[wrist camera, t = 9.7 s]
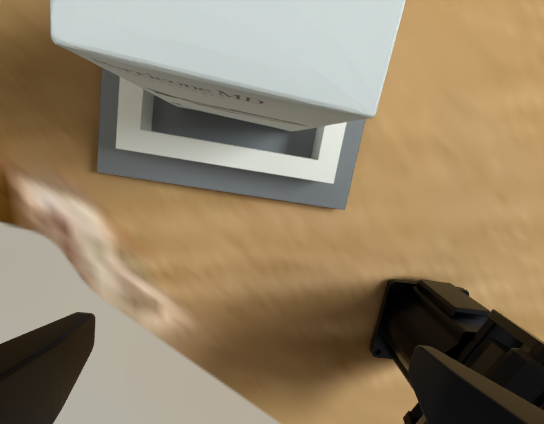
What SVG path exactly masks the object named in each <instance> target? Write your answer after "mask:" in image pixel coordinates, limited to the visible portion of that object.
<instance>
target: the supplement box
mask: <svg viewBox="0 0 544 424" xmlns="http://www.w3.org/2000/svg"><path fill="white" fill-rule="evenodd" d="M405 1H406V0H50V34H51V39H52V41H53V42H54V43H55V44H56V45H58V46H60V47H62V48H65V49H67V50H69V51H71V52H73V53H75V54H77V55H79V56H80V57H82V58H84V59H86V60H88V61H90V62H92V63H94V64H96V65H98V66H100V67H102V68H104V69H106V70H108V71H110V72H112V73H114V74H116V75H118V76H120V77H121V78H123V79H125V80H127V81H129V82H131V83H133V84H135V85H137V86H139V87H140V88H142V89H144V90H146V91H148V92H150V93H152V94H153V95H155V96H157V97H159V98H161V99H163V100H165V101H167V102H169V103H171V104H173V105H175V106H177V107H180V108H186V109H192V110H198V111H202V112H207V113H211V114H216V115H220V116H225V117H229V118H234V119H238V120H243V121H247V122H252V123H257V124H261V125H266V126H270V127H274V128H279V129H283V130H286V131H290V132H292V131H299V130H306V129H312V128H318V127H323V126H328V125H332V124H338V123H344V122H351V121H355V120H361V119H368V118H372V117H373V116H375V115H376V111H377V107H378V102H379V99H380V95H381V91H382V88H383V84H384V80H385V76H386V73H387V69H388V65H389V61H390V58H391V54H392V50H393V46H394V43H395V39H396V35H397V31H398V27H399V24H400V20H401V16H402V12H403V9H404V5H405Z"/></svg>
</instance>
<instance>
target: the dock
mask: <svg viewBox="0 0 544 424" xmlns="http://www.w3.org/2000/svg"><path fill="white" fill-rule="evenodd" d="M364 124H365V119H361V120H355V121H351V122H344V123H338V124H332V125H328V126H323V127H318V128H312V129H306V130H299V131H292V132H290V131H286V130H283V129H279V128H274V127H270V126H266V125H261V124H257V123H252V122H247V121H243V120H238V119H234V118H229V117H225V116H220V115H216V114H211V113H207V112H202V111H198V110H192V109H186V108H180V107H177V106H175V105H173V104H171V103H169V102H167V101H165V100H163V99H161V98H159V97H157V96H155V95H153V94H152V93H150V92H148V91H146V90H144V89H142V88H140V87H139V86H137V85H135V84H133V83H131V82H129V81H127V80H125V79H123V78H121V77H120V76H118V75H116V74H114V73H112V72H110V71H108V70H106V69H104V68H102V71H101V93H100V114H99V136H98V158H97V172H99V173H106V174H113V175H119V176H126V177H132V178H139V179H145V180H152V181H158V182H165V183H171V184H178V185H185V186H191V187H198V188H204V189H211V190H217V191H224V192H230V193H237V194H244V195H250V196H257V197H263V198H270V199H276V200H283V201H289V202H296V203H303V204H309V205H316V206H322V207H329V208H335V209H342V210H345V207H346V203H347V199H348V194H349V190H350V185H351V181H352V177H353V172H354V168H355V163H356V159H357V155H358V150H359V146H360V141H361V137H362V132H363V128H364Z"/></svg>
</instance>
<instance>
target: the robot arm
mask: <svg viewBox="0 0 544 424" xmlns="http://www.w3.org/2000/svg"><path fill="white" fill-rule="evenodd" d="M394 285H397V286H396V287H395V288H393V286H394ZM94 335H95V316H94V314H92V313H83V312H76V313H74V314H71V315H69V316H66V317H64V318H62V319H59V320H57V321H54V322H52V323H50V324H47V325H45V326H42V327H40V328H38V329H35V330H33V331H30V332H28V333H26V334H23V335H21V336H18V337H16V338H14V339H11V340H9V341H6V342H4V343H2V344H0V424H53V422H54V421H55V419H56V418H57V416H58V414H59V413H60V411H61V409H62V407H63V406H64V404H65V402H66V400H67V398H68V396H69V394H70V392H71V390H72V388H73V386H74V384H75V383H76V380H77V378H78V377H79V375H80V373H81V371H82V369H83V367H84V365H85V363H86V361H87V359H88V357H89V355H90V353H91V351H92V349H93V346H94V337H95V336H94ZM377 349H379V350H378V351H376V350H377ZM370 352H371V353H372V355H373V356H374V357H377V358H388V359H393V360H394V362H395V363H396V365H397V366H398V368H399V369H400V370H401V372H402V373H403V375H404V376H405V378H406V379H407V381H408V382H409V384H410V385H411V387H412V388H413V390H414V392H415V394H416V397H417V399H418V401H419V402H418V403H417V404H416V406H415V407H414V408H413V409H412V411H411V412H410V411H408V412H407V413H406V415H405V416H404V417H403V420H404V423H405V424H544V342H543V341H542V340H540V339H539V338H537V337H535V336H534V335H532V334H531V333H529V332H528V331H526V330H525V329H523V328H522V327H520V326H519V325H517V324H515V323H514V322H512V321H511V320H509V319H508V318H506V317H505V316H503V315H502V314H500V313H498V312H497V311H495V310H494V309H493V310H492V311H491V312H490V311H489V310H488V309H486V308H485V307H483V306H482V305H481V304H479V303H478V302H476V301H475V300H473V299H472V298H470V297H469V292H468V291H467V290H465V289H464V288H460V287H455V286H453V285H452V284H450V283H444V282H436V281H428V280H419V281H417V282H413V281H405V280H397V279H392V280H390V281H389V282H388V284H387V287H386V291H385V295H384V298H383V302H382V306H381V309H380V313H379V317H378V320H377V324H376V328H375V331H374V335H373V339H372V342H371V346H370Z"/></svg>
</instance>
